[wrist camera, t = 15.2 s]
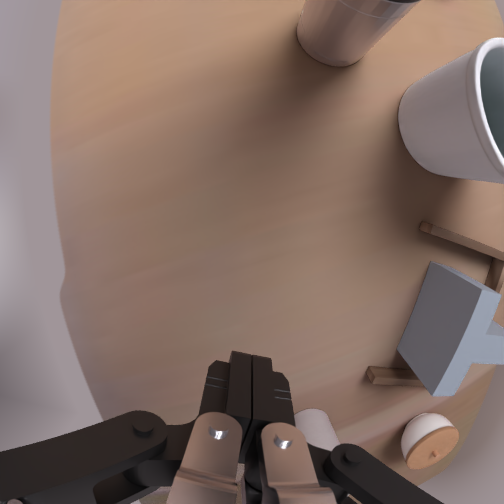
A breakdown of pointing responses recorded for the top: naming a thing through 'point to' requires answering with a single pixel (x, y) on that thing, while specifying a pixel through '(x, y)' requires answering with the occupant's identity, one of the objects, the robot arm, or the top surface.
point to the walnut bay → (499, 272)
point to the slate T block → (451, 329)
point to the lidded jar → (427, 440)
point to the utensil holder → (459, 116)
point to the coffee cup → (316, 428)
